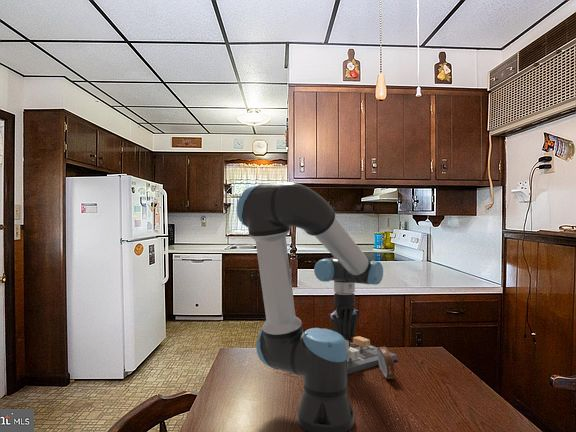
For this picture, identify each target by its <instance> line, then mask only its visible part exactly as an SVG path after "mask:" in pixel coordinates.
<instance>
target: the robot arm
mask: <svg viewBox="0 0 576 432" xmlns="http://www.w3.org/2000/svg"><path fill="white" fill-rule="evenodd" d="M236 214H237V218H238V220H239V222H240V223H241V224H242V225H243V226H245V227H246V228H247V229H248V236H249V237H250V238H252V239H253V240H254V241H255V246H256V254H257V261H258V269H259V276H260V277H259V278H260V284H261V291H262V299H263V305H264V306H263V307H264V312H265V313H264V314H265V321H264V323H263V324H262V325H261V329H260V330H259V332H258V334H257V337H258V338H257V340H256V344H255V345H256V346H255V348H256V353H257V356H258V359H259V360H260V361H261V363H263V364H264V365H265V366H267V367H270V368H271V369H274V370H280V371H283V372H286V373H289V374H293V375H297V376H300V377H302V378H303V392H302V396H301V398H300V403H299V406H298V408H297V423H298V426H300V427H301V428H302V429H303V430H305V431H306V432H348V431H350V430H351V429H352V428H353V426H354V425H355V414H354V410H353V406H352V403H351V400H350V397H349V394H348V374H347V359H349V348H350V347H351V341H353V337H356V336H355V335H356V328H357V323H358V318H359V314H360V310H359V309H357V308H356V306H355V303H356V294H355V291H356V290H355V289H356V284H364V285H367V286H368V285H375V286H377V285H379V284H380V283H382V281H383V277H384V267H383V265H382V263H381V262H380V261H378V260H377V261H376V260H370V259H369V258H368V257H367V256H366V254H365V253H364V251H362V250H361V248H360V246H358V244H356V242H355V241H354V240H353V238H352V237H351V236H350V235H349V233H348V232H347V231H346V229H345V228H344V227H343V226H342V224H341V223H340V222H339V221H338V219H337V218H336V215H337V214H336V212H335V210H334V208H333V207H332V206H331V205H330V204H329V202H328V201H327V200H326V199H325V198H323V197H322V196H321V195H320V194H319V193H317V192H316V191H314V190H313V189H311V188H310V187H308V186H306V185H304V184H301V183H297V182H292V181H291V182H282V183H267V184H258V185H252V186H248V187H247V188H245V189H244V190H243V191H242V193H241V195H240V196H239V197H238V200H237V205H236ZM291 227H293V228H298V229H301V230H304V232H305V233H306V234H307V235H309V236H313V237H315V238H316V239H317V240H318V241H319V242H320V243H321V245H322V246H323V247H324V248H325V249H326V250H327V251H328V252H329V253H330V254H331V256H333V257H329V258H326V257H325V258H322V259H319V260H318V261H317V262H316V263H315V265H314V268H313V270H314V271H313V272H314V273H313V274H314V276H315V278H316V279H317V280H318V281H319V282H326V283H329V282H331V281H332V282H333V291H334V294H333V298H334V299H333V301H334V305H335V307H334V309H333V310H334V311H333V312H332V313H329V314H328V316H329V319H330V320H331V325H332V329H329V328H323V327H322V328H320V327H311V328H309V329H306V330H305V331H304V330H303V329H304V328H303V322H302V320H301V319H300V318H299V317H297V316H296V310H295V309H296V308H295V301H294V300H295V299H294V294H293V291H294V290H293V286H292V285H293V283H292V277H291V276H292V275H291V267H290V260H289V253H288V245H287V243H288V242H287V236H288V234H289V233H290V232H291Z"/></svg>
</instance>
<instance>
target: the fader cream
mask: <svg viewBox="0 0 576 432" xmlns="http://www.w3.org/2000/svg"><path fill="white" fill-rule="evenodd" d="M355 348H356V347H352V346H350V348H349V361H350V362H351V361H352V359H355V358H358V357H360V351H359V350H357V349H355Z"/></svg>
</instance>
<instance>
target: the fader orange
mask: <svg viewBox="0 0 576 432" xmlns="http://www.w3.org/2000/svg"><path fill="white" fill-rule="evenodd" d="M352 344H353V345H355V346H357V347H360V350H363V348H364V347H368V346H370V345H371V340H370V339H369V338H366V337H362V335H361V336H360V335H359V336H358V335H357V336H354V337H352Z"/></svg>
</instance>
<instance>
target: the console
mask: <svg viewBox="0 0 576 432" xmlns="http://www.w3.org/2000/svg"><path fill="white" fill-rule="evenodd" d="M354 348H355V349H357V350H359V351H360V357H358V358H355V359H352V361H351V362H350V361H349V359H347V375H348V374H352V373H356V372H359V371H362V370H366V369H370V368H373V367H377V366H379V362H378V347H376V346H374V345H372V344H370V346H368V347H364V348H363V350H360V346H356V347H354ZM389 353H390V354H391V356H392V359H393V362H394V361H397V360H398V359H397V354H395V353H393V352H390V351H389Z"/></svg>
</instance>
